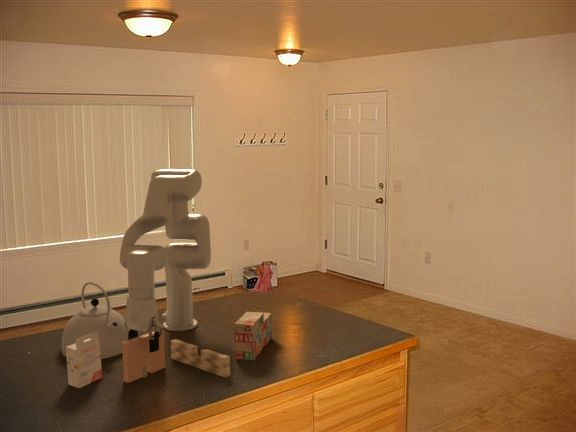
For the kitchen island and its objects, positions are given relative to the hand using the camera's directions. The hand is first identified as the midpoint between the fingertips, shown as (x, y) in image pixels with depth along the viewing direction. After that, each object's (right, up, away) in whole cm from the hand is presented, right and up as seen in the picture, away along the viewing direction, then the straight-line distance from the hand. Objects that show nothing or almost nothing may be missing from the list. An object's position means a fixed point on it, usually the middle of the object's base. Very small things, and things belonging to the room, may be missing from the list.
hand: (143, 347), depth 178 cm
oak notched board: (+16, -8, +7) cm, 19 cm away
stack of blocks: (+32, -6, +23) cm, 39 cm away
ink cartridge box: (-16, -10, -3) cm, 19 cm away
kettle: (-21, -6, +23) cm, 31 cm away
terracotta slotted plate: (0, -8, +2) cm, 9 cm away
